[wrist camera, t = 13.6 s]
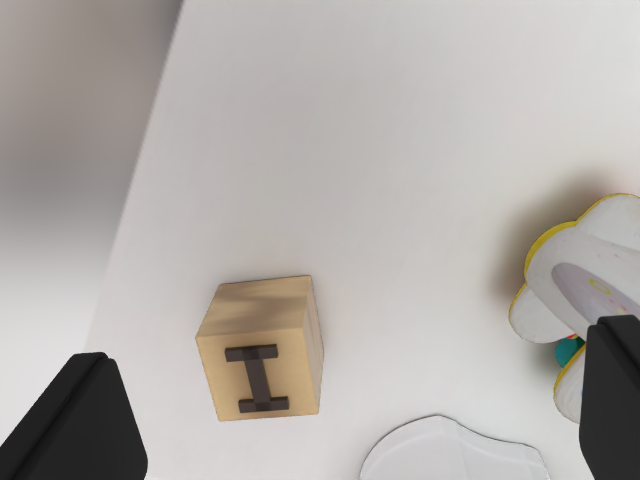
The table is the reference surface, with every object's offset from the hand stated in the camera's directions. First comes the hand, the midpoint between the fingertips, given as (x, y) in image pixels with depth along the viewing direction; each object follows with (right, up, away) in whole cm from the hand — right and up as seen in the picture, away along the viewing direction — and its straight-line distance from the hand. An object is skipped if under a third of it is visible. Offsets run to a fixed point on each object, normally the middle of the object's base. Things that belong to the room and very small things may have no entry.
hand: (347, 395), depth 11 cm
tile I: (-3, -1, +19) cm, 20 cm away
